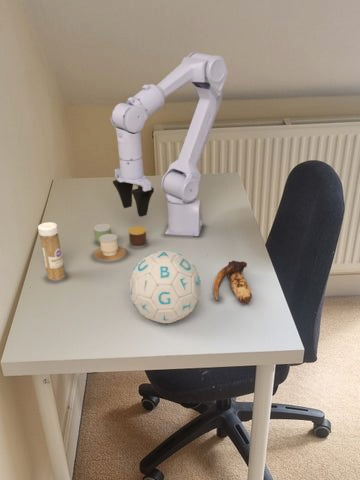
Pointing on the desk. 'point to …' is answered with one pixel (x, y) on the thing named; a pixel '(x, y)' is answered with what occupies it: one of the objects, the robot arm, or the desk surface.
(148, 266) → the puzzle ball
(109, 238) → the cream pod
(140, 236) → the brown pod
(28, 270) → the desk surface
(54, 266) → the sprinkles bottle
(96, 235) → the cylinder
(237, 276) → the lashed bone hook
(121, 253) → the coaster
